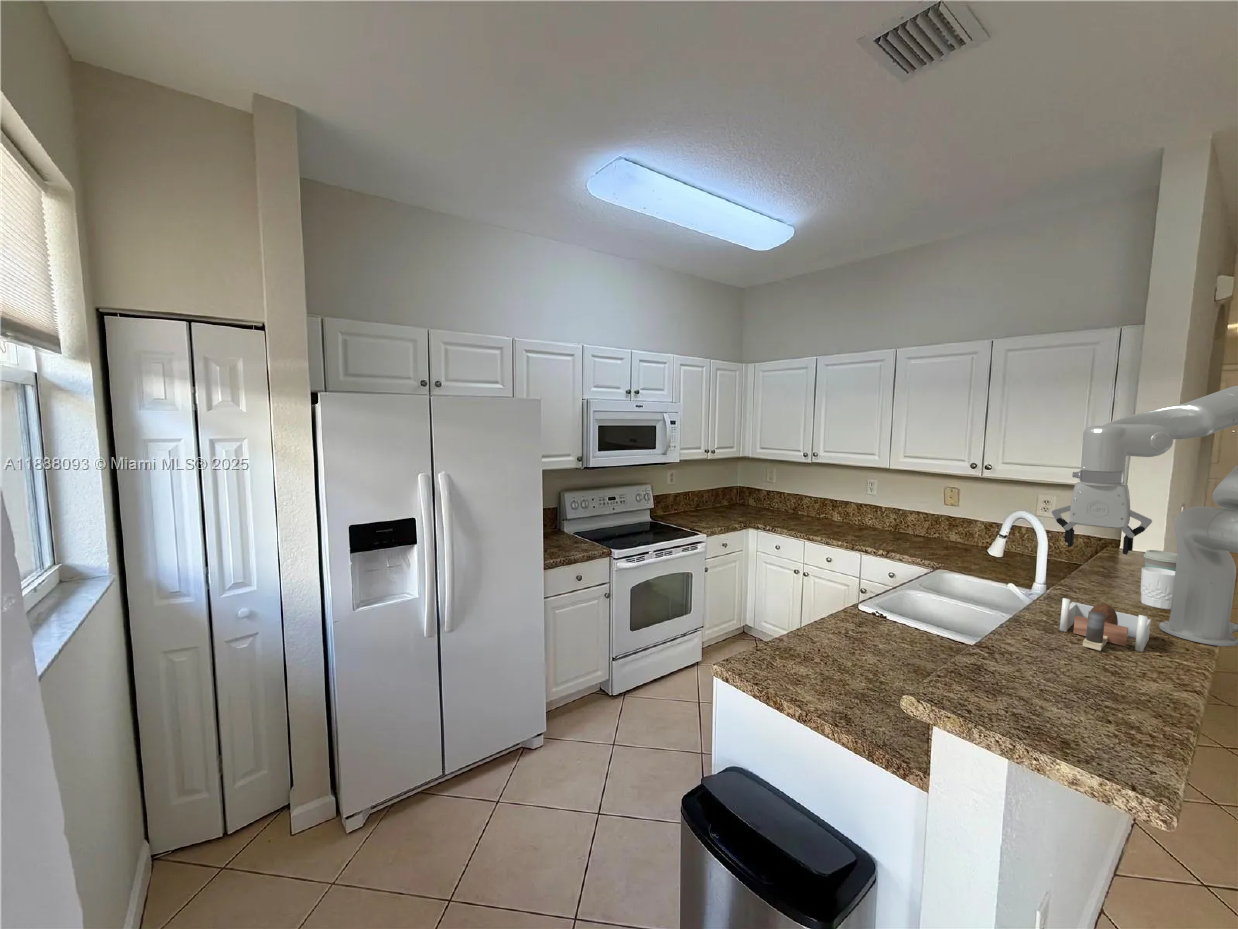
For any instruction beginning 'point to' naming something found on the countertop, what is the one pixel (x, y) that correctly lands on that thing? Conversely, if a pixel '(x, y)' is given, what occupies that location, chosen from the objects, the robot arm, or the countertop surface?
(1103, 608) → the coconut
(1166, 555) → the coffee cup
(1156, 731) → the countertop surface
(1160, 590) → the white cup
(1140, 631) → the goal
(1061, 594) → the countertop surface
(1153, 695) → the countertop surface
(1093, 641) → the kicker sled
